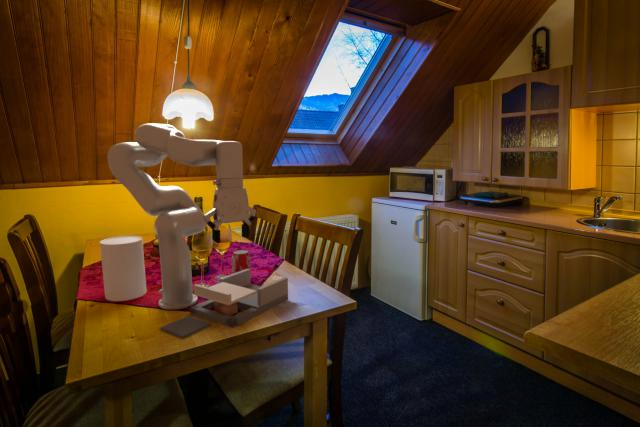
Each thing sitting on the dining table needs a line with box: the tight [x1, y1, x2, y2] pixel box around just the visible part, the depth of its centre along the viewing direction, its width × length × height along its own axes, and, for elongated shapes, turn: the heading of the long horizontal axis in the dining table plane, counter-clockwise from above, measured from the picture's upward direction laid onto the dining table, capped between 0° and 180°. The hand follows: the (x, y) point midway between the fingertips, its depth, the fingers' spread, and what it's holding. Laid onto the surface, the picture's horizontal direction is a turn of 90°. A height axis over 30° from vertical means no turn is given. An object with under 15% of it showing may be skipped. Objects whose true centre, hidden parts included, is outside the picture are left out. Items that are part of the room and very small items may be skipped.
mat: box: [160, 315, 212, 339], centre depth 121 cm, size 10×10×1 cm
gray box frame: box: [189, 269, 289, 329], centre depth 136 cm, size 19×26×8 cm
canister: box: [99, 235, 148, 302], centre depth 147 cm, size 14×14×20 cm
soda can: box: [231, 249, 252, 280], centre depth 161 cm, size 7×7×12 cm
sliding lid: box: [193, 282, 257, 305], centre depth 130 cm, size 15×12×3 cm
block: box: [214, 301, 239, 317], centre depth 131 cm, size 5×5×6 cm
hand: (231, 239), depth 125 cm, fingers open, 9 cm apart
